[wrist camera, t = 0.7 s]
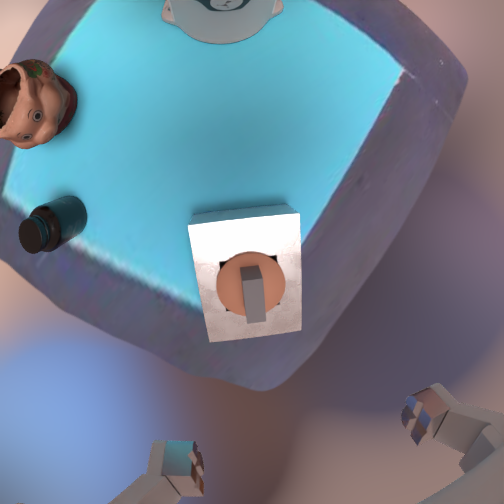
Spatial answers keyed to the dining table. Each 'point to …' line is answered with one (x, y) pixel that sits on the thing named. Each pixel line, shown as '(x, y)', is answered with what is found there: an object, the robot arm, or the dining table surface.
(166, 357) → the dining table surface
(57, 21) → the dining table surface
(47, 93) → the brown ceramic cup shape
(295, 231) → the housing
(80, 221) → the supplement bottle
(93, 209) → the dining table surface
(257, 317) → the end cover
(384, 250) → the dining table surface
